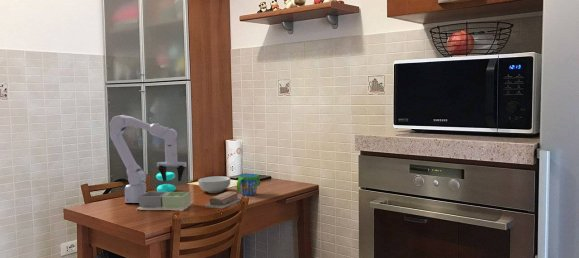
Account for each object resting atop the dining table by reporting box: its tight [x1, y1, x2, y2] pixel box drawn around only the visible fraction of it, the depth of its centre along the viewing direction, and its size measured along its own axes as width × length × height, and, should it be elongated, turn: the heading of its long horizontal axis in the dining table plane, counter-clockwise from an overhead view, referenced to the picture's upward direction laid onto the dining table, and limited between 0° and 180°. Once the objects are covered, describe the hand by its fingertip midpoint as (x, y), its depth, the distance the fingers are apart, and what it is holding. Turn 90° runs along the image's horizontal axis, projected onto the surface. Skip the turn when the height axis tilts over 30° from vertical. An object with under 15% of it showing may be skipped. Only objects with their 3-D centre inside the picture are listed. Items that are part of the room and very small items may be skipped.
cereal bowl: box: [197, 175, 231, 194], centre depth 264 cm, size 17×17×7 cm
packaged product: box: [204, 190, 242, 210], centre depth 237 cm, size 18×5×10 cm
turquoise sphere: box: [155, 171, 177, 193], centre depth 267 cm, size 10×10×10 cm
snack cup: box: [236, 173, 261, 197], centre depth 255 cm, size 16×10×10 cm
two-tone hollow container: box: [136, 191, 193, 212], centre depth 233 cm, size 22×14×6 cm, turn 84°
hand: (172, 180), depth 243 cm, fingers open, 7 cm apart
